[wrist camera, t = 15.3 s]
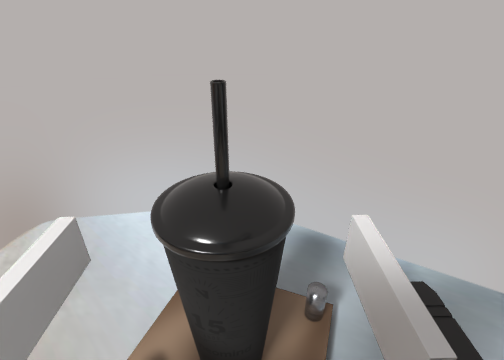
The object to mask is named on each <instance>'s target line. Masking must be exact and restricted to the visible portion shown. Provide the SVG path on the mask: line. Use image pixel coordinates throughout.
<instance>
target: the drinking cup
mask: <svg viewBox="0 0 504 360" xmlns="http://www.w3.org/2000/svg"><path fill="white" fill-rule="evenodd" d="M210 85H211V102H212V116H213V117H212V118H213V134H214V151H215V165H216V166H215V167H216V172H212V173H206V174H201V175H197V176H193V177H190V178H187V179H185V180H182V181H180V182H178V183H176V184H174V185H172V186H171V187H169V188H168V189H167V190H165V191H164V192H163V193H162V194H161V195H160V196H159V197H158V199H157V200H156V201H155V203H154V205H153V207H152V210H151V225H152V229H153V232H154V234H155V235H156V237H157V238H158V240H159V241H160V242H161V243H162V244H163V245H164V248H165V252H166V255H167V258H168V261H169V264H170V267H171V270H172V273H173V276H174V280H175V283H176V286H177V289H178V292H179V295H180V298H181V301H182V304H183V308H184V311H185V314H186V317H187V320H188V323H189V326H190V329H191V332H192V336H193V339H194V342H195V345H196V348H197V351H198V354H199V357H200V360H262V355H263V350H264V345H265V340H266V335H267V330H268V325H269V320H270V315H271V310H272V305H273V299H274V294H275V289H276V284H277V279H278V274H279V269H280V264H281V259H282V254H283V249H284V244H285V239H286V235H287V234H288V232H289V231H290V229H291V227H292V225H293V222H294V216H295V207H294V203H293V200H292V198H291V196H290V195H289V194H288V192H287V191H286V190H285V189H284V188H283V187H282V186H280V185H279V184H277V183H275V182H274V181H272V180H270V179H267V178H265V177H261V176H259V175H255V174H250V173H244V172H232V171H229V156H228V155H229V154H228V128H227V99H226V81H225V80H212V81H211V82H210Z"/></svg>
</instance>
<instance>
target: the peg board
mask: <svg viewBox="0 0 504 360" xmlns="http://www.w3.org/2000/svg"><path fill="white" fill-rule="evenodd" d="M327 292H328V291H327V288H326V287H325V286H324V285H323V284H321V283H319V282H313V283H311V284H309V286H308V290H307V297H306V296H302V295H299V294H296V293H292V292H289V291H285V290H282V289H279V288H276V289H275V294H274V299H273V305H272V310H271V315H270V320H269V325H268V330H267V335H266V340H265V345H264V350H263V355H262V360H326V352H327V345H328V338H329V331H330V324H331V316H332V309H333V304H329V303H326V298H327ZM127 360H200V357H199V354H198V351H197V348H196V345H195V342H194V339H193V336H192V332H191V329H190V326H189V323H188V320H187V317H186V314H185V311H184V308H183V304H182V301H181V298H180V295H179V292H178V290H177V291H176V293H175V294H174V296H173V297H172V298H171V300H170V301H169V303H168V304H167V305H166V307H165V308H164V309H163V311H162V312H161V314H160V315H159V316H158V318H157V319H156V321H155V322H154V323H153V325H152V326H151V327H150V329H149V330H148V332H147V333H146V334H145V336H144V337H143V339H142V340H141V341H140V343H139V344H138V345H137V347H136V348H135V350H134V351H133V352H132V354H131V355H130V356H129V358H128V359H127Z"/></svg>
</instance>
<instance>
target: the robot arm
mask: <svg viewBox="0 0 504 360" xmlns="http://www.w3.org/2000/svg"><path fill="white" fill-rule="evenodd" d="M343 259H344V262H345V264H346V266H347V269H348V271H349V274H350V276H351V279H352V281H353V284H354V286H355V289H356V291H357V293H358V296H359V298H360V301H361V303H362V306H363V308H364V311H365V313H366V315H367V318H368V320H369V323H370V325H371V328H372V330H373V333H374V335H375V337H376V340H377V342H378V345H379V347H380V350H381V352H382V355H383V357H384V360H483V359H482V358H481V356H480V355H479V353H478V352H477V350H476V349H475V348H474V346H473V345H472V343H471V342H470V340H469V339H468V337H467V336H466V335H465V333H464V332H463V330H462V329H461V327H460V326H459V325H458V323H457V322H456V320H455V319H453V318H452V315H451V313H450V312H449V310H448V309H447V308H445V305H444V303H443V302H442V300H441V299H440V297H439V296H438V295H437V293H436V292H435V291H434V290H433V289H431V288H430V287H429V286H428V285H427V284H425V283H424V282H410V281H409V280H408V278H407V276H406V275H405V273H404V272H403V270H402V268H401V267H400V265H399V264H398V262H397V260H396V259H395V257H394V256H393V254H392V253H391V251H390V249H389V248H388V246H387V244H386V243H385V241H384V240H383V238H382V237H381V235H380V233H379V232H378V230H377V229H376V227H375V225H374V224H373V222H372V221H371V219H370V217H369V216H368V215H352V218H351V223H350V227H349V232H348V237H347V241H346V246H345V251H344V255H343ZM90 261H91V259H90V256H89V254H88V251H87V248H86V246H85V243H84V240H83V237H82V235H81V232H80V229H79V226H78V224H77V221H76V218H75V217H58V218H57V219H56V220H55V221H54V223H53V224H52V225H51V226H50V227H49V228H48V229H47V230H46V231H45V232H44V233H43V234H42V235H41V236H40V237H39V238H38V239H37V240H36V241H35V242H34V243H33V245H32V246H31V247H30V248H29V249H28V250H27V251H26V252H25V253H24V254H23V255H22V256H21V257H20V258H19V259H18V260H17V261H16V262H15V263H14V264H13V265H12V267H11V268H10V269H9V270H8V271H7V272H6V273H5V274H4V275H3V276H2V277H1V278H0V360H27V358H28V356H29V355H30V353H31V352H32V350H33V349H34V347H35V346H36V344H37V343H38V341H39V339H40V338H41V336H42V335H43V333H44V332H45V330H46V329H47V327H48V326H49V324H50V323H51V321H52V319H53V318H54V316H55V315H56V313H57V312H58V310H59V309H60V307H61V306H62V304H63V302H64V301H65V299H66V298H67V296H68V295H69V293H70V292H71V290H72V289H73V287H74V286H75V284H76V282H77V281H78V279H79V278H80V276H81V275H82V273H83V272H84V270H85V269H86V267H87V265H88V264H89V262H90Z"/></svg>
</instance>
